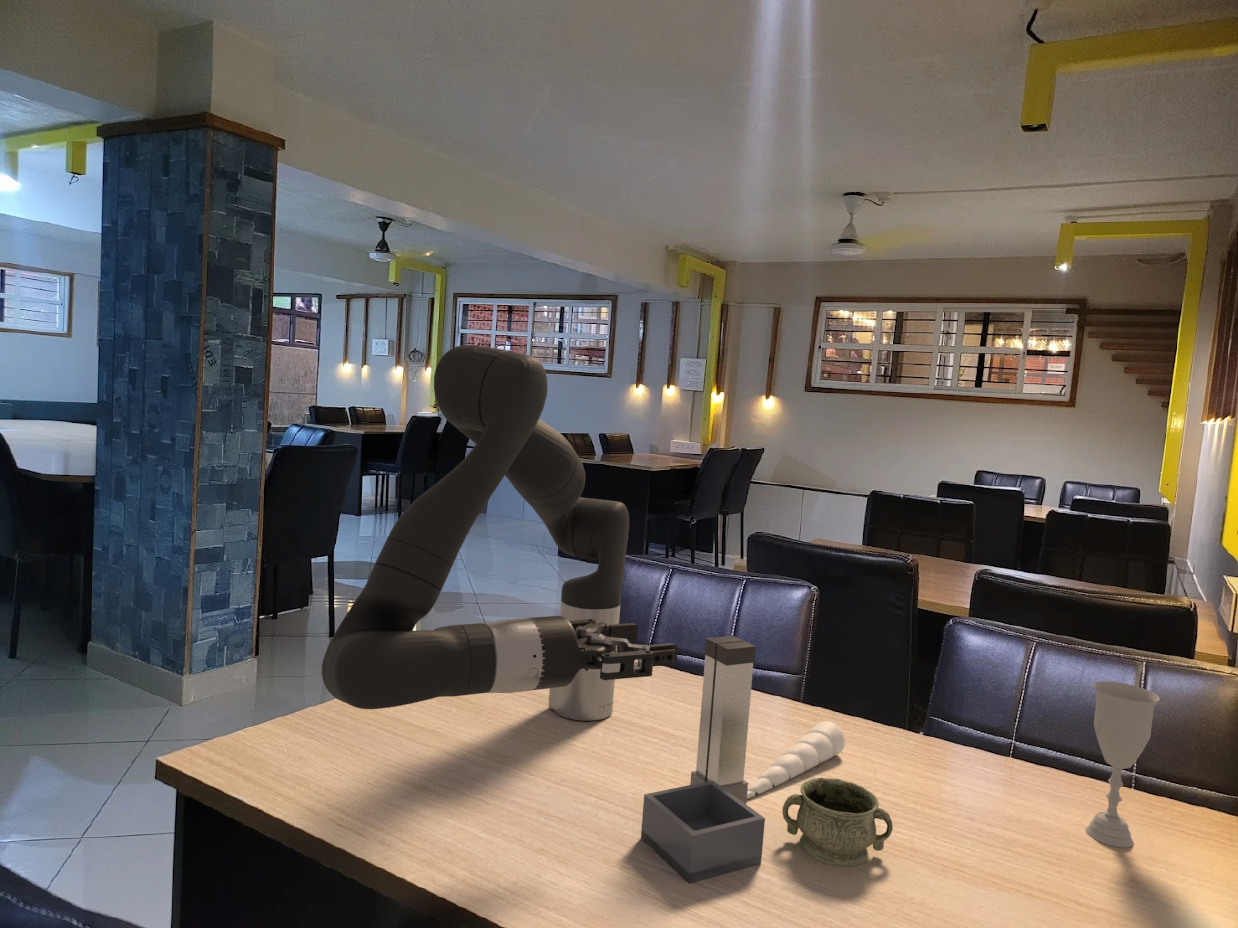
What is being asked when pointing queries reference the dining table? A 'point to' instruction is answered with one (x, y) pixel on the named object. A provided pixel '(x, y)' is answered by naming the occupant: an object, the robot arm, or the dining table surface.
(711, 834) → the grey open storage bin
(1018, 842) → the dining table surface
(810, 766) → the unicorn horn
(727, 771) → the split metal pillar
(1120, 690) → the chalice
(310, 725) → the dining table surface
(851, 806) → the vessel
